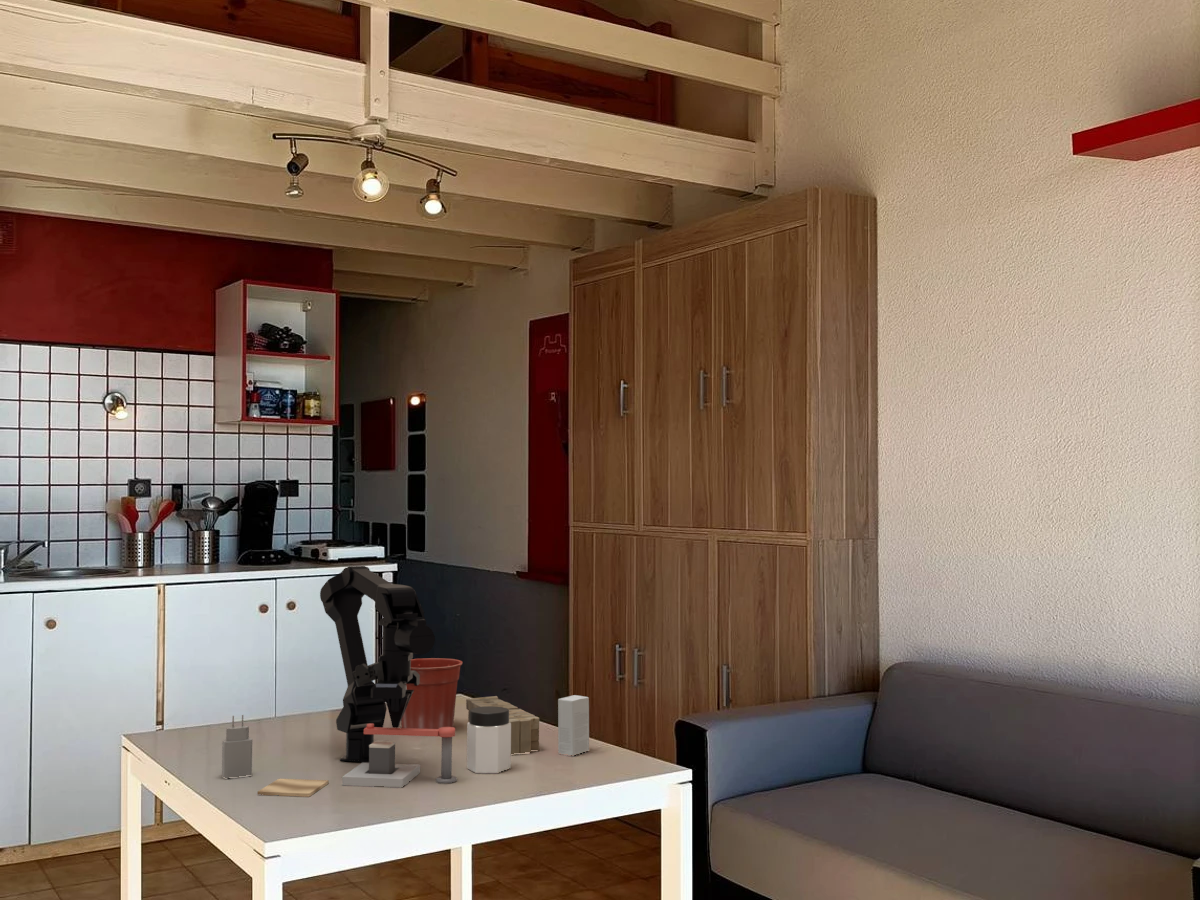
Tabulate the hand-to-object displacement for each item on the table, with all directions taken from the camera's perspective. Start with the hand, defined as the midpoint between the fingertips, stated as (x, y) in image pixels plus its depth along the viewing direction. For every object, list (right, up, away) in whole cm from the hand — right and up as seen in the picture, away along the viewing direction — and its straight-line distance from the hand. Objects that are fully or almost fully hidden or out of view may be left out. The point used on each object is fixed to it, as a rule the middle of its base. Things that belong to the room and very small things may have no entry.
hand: (395, 727), depth 228 cm
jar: (+19, -10, +3) cm, 21 cm away
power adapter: (-31, -9, -4) cm, 32 cm away
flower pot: (0, -11, +41) cm, 43 cm away
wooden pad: (-17, -8, -14) cm, 23 cm away
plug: (-2, -9, -6) cm, 11 cm away
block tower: (+19, -11, +30) cm, 37 cm away
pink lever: (+4, 0, -6) cm, 7 cm away
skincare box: (+35, -10, +18) cm, 41 cm away
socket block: (+3, -9, -6) cm, 11 cm away
